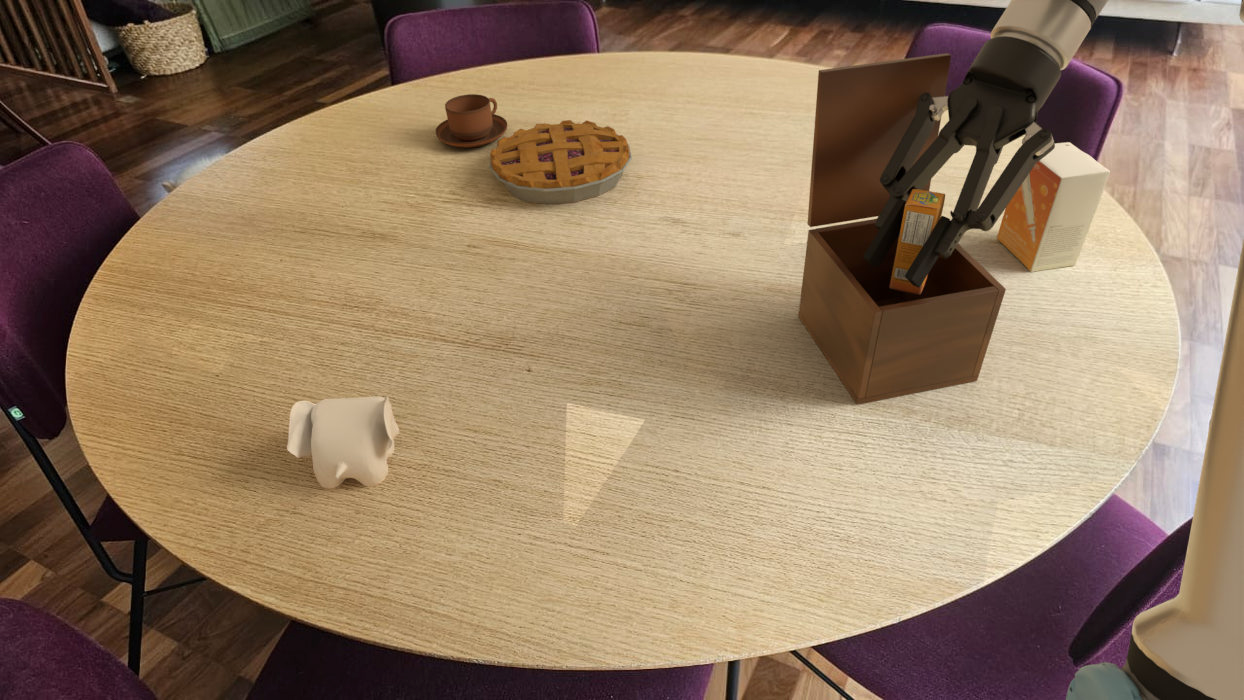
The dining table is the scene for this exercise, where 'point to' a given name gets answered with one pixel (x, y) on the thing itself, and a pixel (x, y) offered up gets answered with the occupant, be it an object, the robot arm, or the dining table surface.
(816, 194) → the lid
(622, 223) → the dining table surface
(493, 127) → the cup and saucer
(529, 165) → the pie
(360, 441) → the elephant figurine
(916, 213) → the supplement box
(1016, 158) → the robot arm
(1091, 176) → the small box
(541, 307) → the dining table surface
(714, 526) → the dining table surface
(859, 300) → the chest
